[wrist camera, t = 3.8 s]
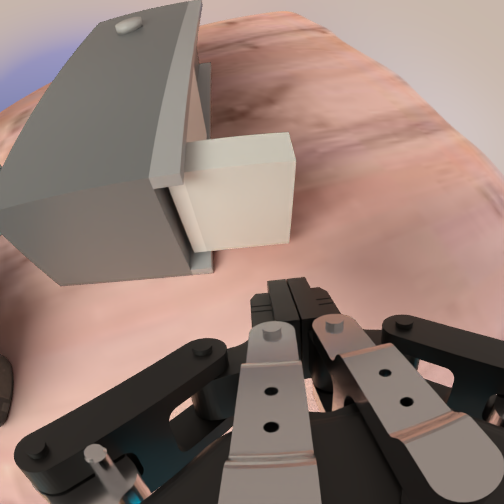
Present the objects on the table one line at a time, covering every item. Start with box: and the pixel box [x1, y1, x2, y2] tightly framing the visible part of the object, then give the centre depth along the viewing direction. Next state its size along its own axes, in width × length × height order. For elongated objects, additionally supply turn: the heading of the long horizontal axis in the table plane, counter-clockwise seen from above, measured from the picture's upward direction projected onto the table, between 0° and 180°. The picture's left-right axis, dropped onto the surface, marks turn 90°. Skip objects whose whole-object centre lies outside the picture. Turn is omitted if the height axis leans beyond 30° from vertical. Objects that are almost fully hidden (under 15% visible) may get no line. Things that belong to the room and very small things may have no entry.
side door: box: [168, 69, 296, 253], centre depth 19 cm, size 6×11×7 cm, turn 5°
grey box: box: [0, 0, 213, 286], centre depth 23 cm, size 11×27×10 cm, turn 5°
